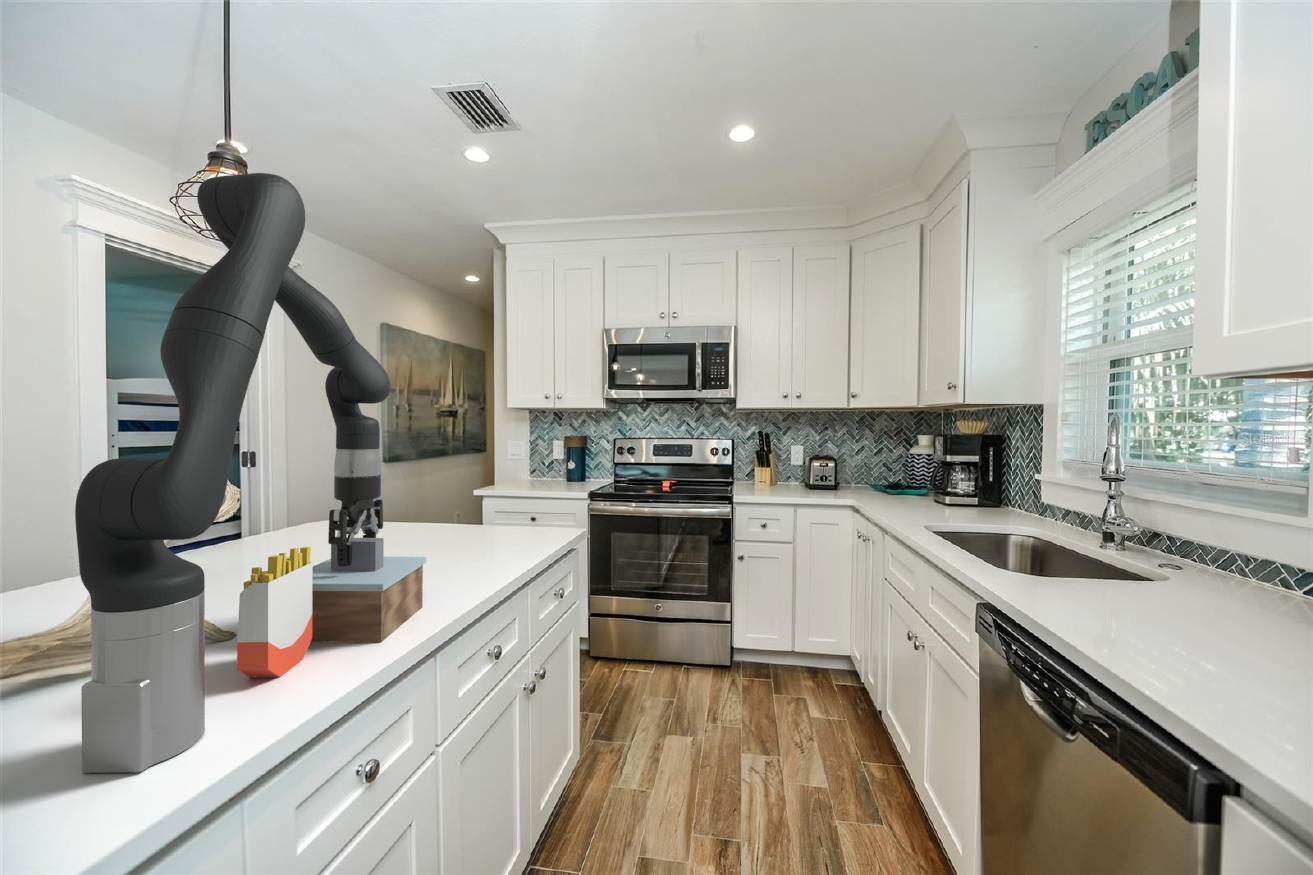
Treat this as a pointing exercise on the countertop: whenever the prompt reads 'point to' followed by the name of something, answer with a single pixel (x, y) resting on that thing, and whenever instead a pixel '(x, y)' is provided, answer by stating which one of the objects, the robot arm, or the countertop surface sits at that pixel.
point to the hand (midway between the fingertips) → (357, 559)
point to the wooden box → (365, 611)
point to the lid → (363, 568)
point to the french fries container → (275, 616)
